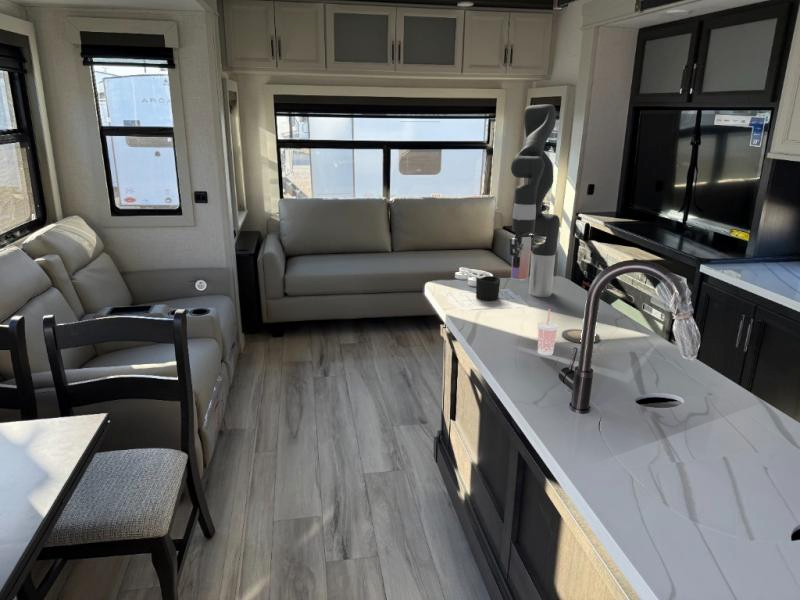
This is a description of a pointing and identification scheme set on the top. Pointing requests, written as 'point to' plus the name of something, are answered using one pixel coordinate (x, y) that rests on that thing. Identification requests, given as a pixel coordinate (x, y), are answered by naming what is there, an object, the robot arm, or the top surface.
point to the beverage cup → (546, 336)
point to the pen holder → (487, 288)
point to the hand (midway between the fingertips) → (520, 265)
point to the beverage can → (522, 261)
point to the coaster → (575, 335)
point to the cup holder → (466, 274)
